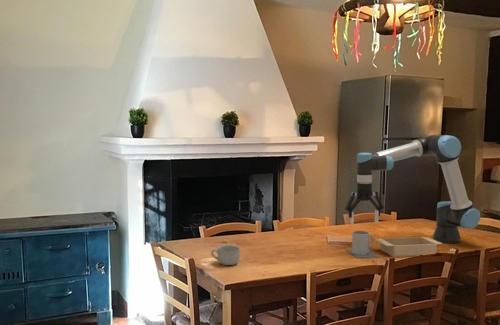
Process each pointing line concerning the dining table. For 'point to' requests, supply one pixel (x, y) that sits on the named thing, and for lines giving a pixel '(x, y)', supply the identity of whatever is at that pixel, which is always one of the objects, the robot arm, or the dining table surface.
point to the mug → (361, 242)
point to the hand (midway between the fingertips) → (364, 223)
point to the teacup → (227, 254)
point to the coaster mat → (370, 255)
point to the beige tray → (408, 246)
